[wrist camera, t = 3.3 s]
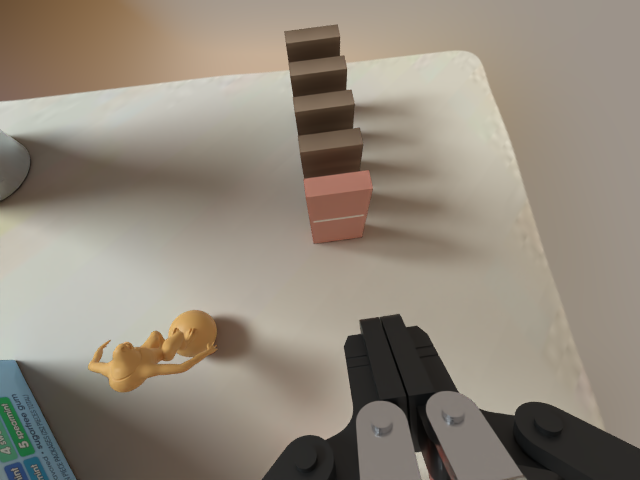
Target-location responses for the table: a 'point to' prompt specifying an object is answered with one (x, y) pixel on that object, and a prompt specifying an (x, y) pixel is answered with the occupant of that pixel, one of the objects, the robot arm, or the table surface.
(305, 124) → the domino
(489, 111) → the table surface
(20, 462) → the gum box
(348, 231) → the domino
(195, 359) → the figurine
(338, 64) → the domino
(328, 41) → the domino
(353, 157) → the domino
